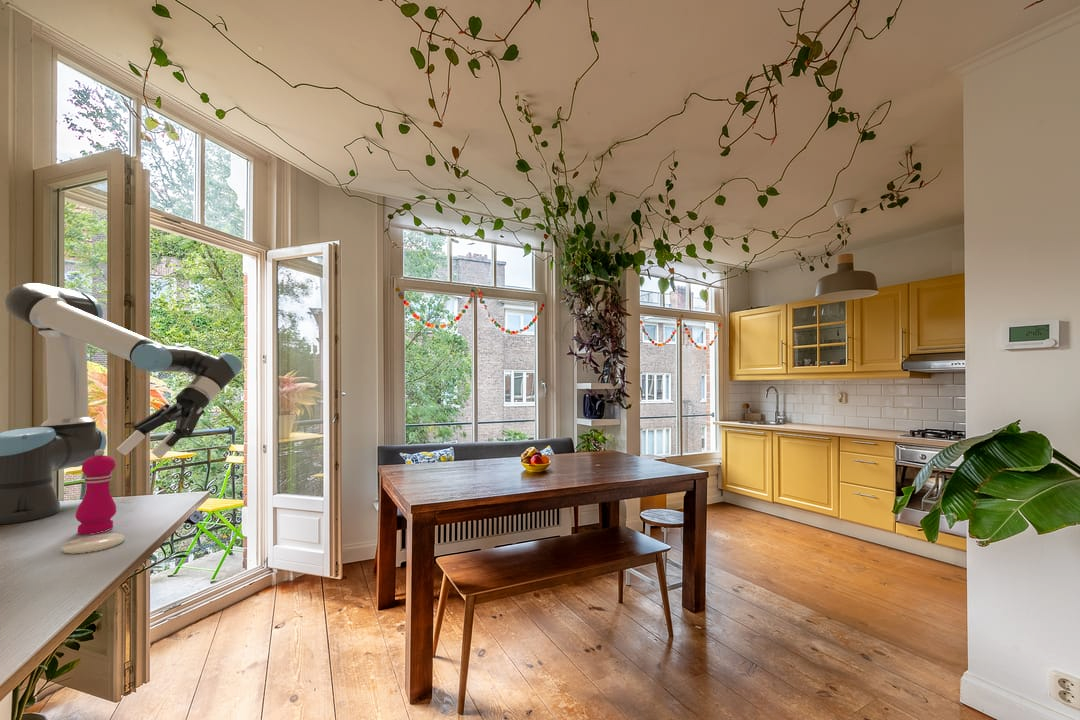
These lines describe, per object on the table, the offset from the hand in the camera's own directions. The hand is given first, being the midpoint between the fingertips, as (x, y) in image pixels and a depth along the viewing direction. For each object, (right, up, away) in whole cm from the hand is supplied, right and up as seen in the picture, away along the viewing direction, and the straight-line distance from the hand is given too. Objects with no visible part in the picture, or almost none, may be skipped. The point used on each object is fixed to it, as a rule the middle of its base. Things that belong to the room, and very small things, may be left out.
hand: (138, 453), depth 120 cm
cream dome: (+6, -17, -18) cm, 25 cm away
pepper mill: (-4, -18, -8) cm, 20 cm away
